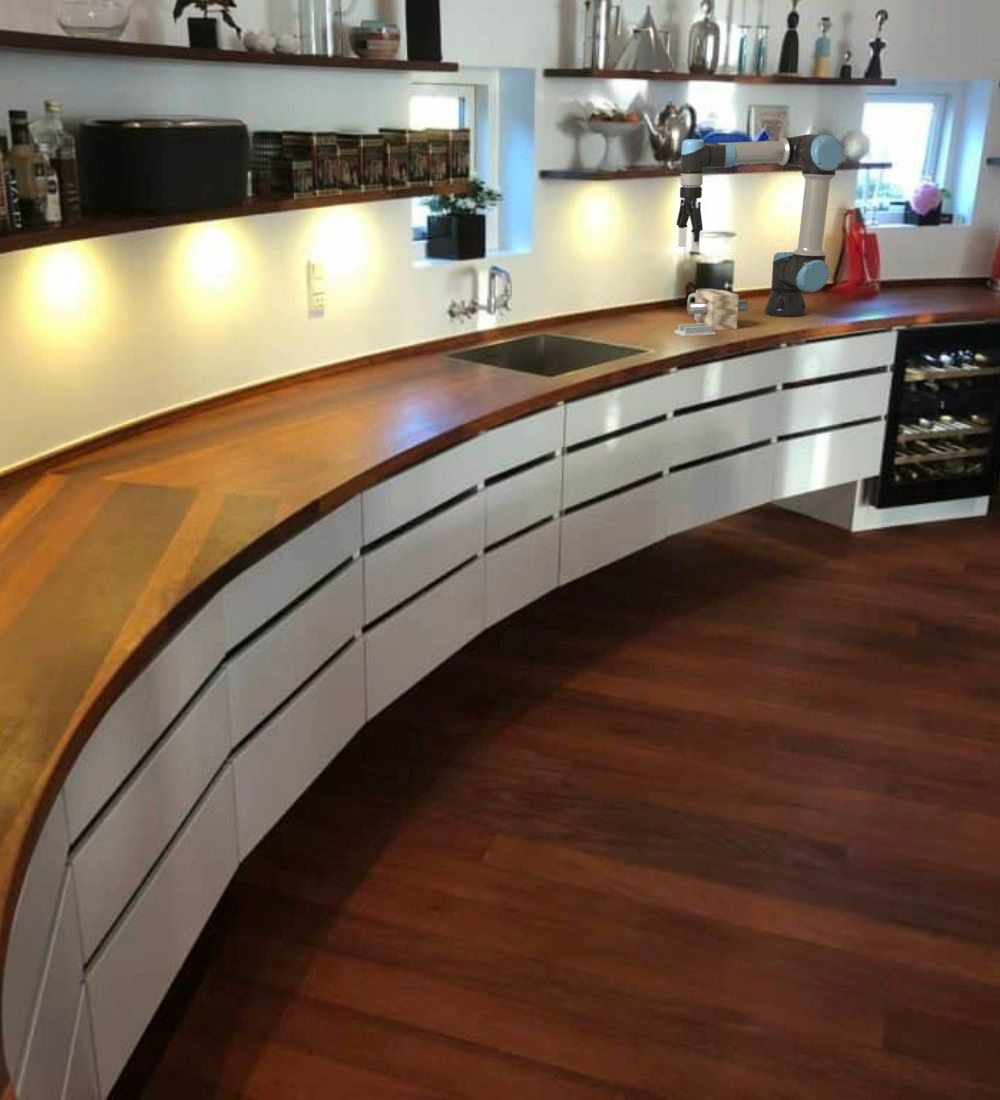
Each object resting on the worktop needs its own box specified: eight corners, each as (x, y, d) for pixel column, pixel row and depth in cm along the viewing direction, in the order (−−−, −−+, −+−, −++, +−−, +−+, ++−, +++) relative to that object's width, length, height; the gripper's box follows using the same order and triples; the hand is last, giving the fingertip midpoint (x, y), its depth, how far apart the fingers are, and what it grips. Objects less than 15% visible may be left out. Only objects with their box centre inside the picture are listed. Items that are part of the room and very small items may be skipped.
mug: (721, 319, 449) (723, 289, 446) (710, 323, 443) (712, 292, 439) (692, 316, 456) (693, 287, 452) (681, 319, 450) (683, 289, 446)
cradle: (705, 330, 428) (706, 322, 427) (715, 334, 421) (716, 326, 420) (674, 332, 425) (674, 324, 424) (683, 336, 418) (684, 328, 417)
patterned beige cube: (721, 323, 442) (723, 289, 438) (736, 328, 432) (738, 294, 427) (696, 324, 440) (698, 291, 436) (710, 330, 429) (712, 296, 425)
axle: (742, 310, 438) (743, 299, 437) (747, 312, 435) (748, 300, 433) (686, 313, 433) (687, 302, 431) (691, 315, 429) (691, 303, 428)
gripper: (669, 184, 431) (666, 245, 438) (692, 188, 408) (690, 253, 415) (689, 183, 432) (686, 244, 440) (714, 188, 409) (710, 252, 417)
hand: (688, 249), depth 427 cm, fingers open, 13 cm apart
